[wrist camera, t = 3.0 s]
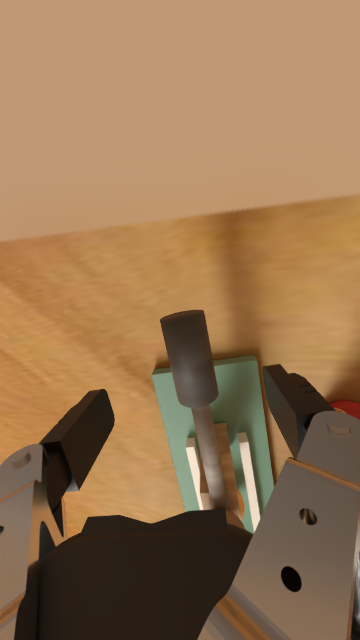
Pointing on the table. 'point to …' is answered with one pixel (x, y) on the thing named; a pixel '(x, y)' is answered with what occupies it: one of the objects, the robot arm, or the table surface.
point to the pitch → (242, 426)
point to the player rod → (202, 408)
